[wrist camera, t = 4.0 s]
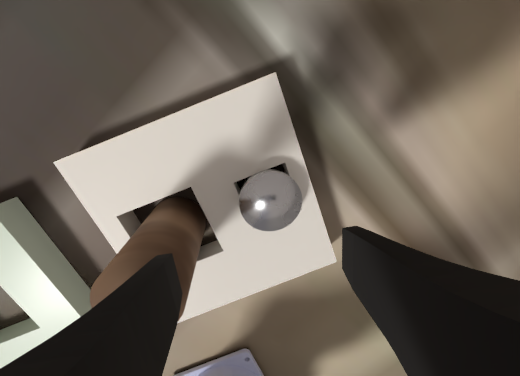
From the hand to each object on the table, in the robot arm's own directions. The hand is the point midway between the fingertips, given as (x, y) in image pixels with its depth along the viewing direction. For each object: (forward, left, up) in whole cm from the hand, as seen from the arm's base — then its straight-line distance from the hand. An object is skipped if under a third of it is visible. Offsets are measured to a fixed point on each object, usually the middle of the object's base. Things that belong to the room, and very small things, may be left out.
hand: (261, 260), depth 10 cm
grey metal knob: (0, -1, -8) cm, 8 cm away
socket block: (0, +3, -8) cm, 9 cm away
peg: (0, +6, -8) cm, 10 cm away
